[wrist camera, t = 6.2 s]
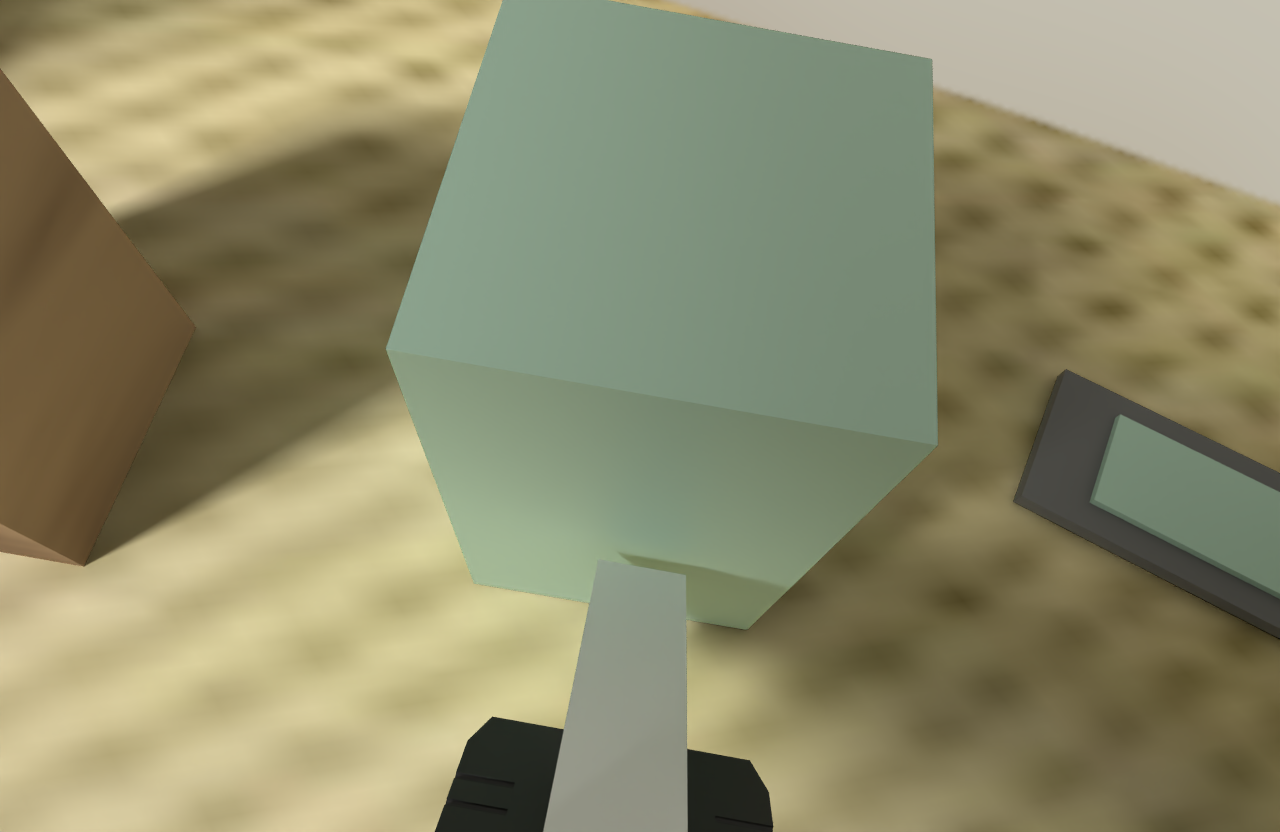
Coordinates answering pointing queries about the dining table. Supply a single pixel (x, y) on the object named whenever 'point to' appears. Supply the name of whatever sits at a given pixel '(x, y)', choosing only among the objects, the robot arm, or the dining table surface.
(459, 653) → the dining table surface
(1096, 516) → the card
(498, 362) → the sage block
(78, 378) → the walnut block
